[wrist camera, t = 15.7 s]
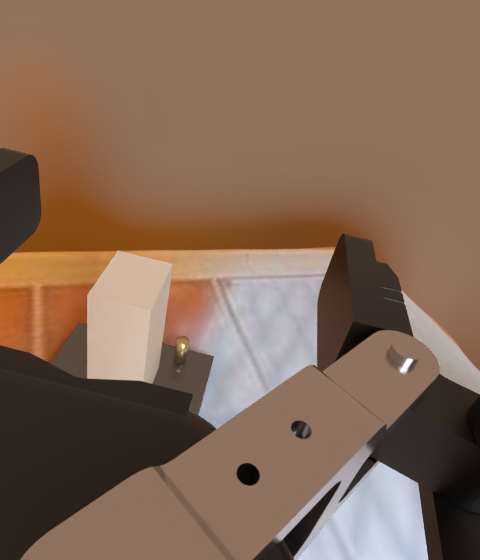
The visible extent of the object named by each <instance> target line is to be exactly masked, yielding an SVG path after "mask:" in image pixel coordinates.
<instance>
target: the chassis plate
mask: <svg viewBox="0 0 480 560" xmlns="http://www.w3.org/2000/svg"><path fill="white" fill-rule="evenodd" d="M188 346H189V339H188V338H187V337H185V336H180V337H178V338H177V342H176V347H174V346H170V345H166V344H162V348H161V355H160V363H159V368H158V370H157V373H156V376H155V378H154V381H153V383H152V384H155V385H159V386H163V387H167V388H171V389H175V390H179V391H183V392H187V393H191V394H193V398H192V403H191V408H190V411H191V412H193V413H195V414H197V415H198V414H199V411H200V407H201V403H202V400H203V396H204V392H205V388H206V385H207V381H208V377H209V374H210V370H211V366H212V362H213V358H214V356H210V355H206V354H202V353H198V352H194V351H190V350H188ZM51 364H52V365H54V366H56V367H58V368H60V369H62V370H63V371H65V372H67V373H69V374H71V375H73V376H76V377H79V378H87V325H86V324H82V323H78V325H77V326H76V328H75V329H74V331H73V332H72V334H71V335H70V337H69V338H68V339H67V341H66V342H65V344H64V345H63V347H62V348H61V350H60V351H59V353H58V354H57V356H56V357H55V359H54V360H53V361H52V363H51Z"/></svg>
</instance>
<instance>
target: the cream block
mask: <svg viewBox="0 0 480 560" xmlns="http://www.w3.org/2000/svg"><path fill="white" fill-rule="evenodd" d="M172 267H173V264H171V263H167V262H163V261H159V260H154V259H150V258H146V257H142V256H138V255H134V254H130V253H126V252H121V251H117V253H116V254H115V256H114V257H113V259H112V260H111V261H110V263H109V264H108V266H107V267H106V269H105V270H104V272H103V273H102V275H101V276H100V277H99V279H98V280H97V282H96V283H95V285H94V286H93V288H92V289H91V290H90V292H89V293H88V295H87V379H110V380H134V381H143V382H147V383H151V384H152V383H153V381H154V378H155V376H156V373H157V370H158V368H159V363H160V355H161V348H162V341H163V333H164V326H165V319H166V311H167V304H168V297H169V289H170V282H171V275H172Z"/></svg>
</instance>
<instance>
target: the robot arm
mask: <svg viewBox="0 0 480 560" xmlns="http://www.w3.org/2000/svg"><path fill="white" fill-rule="evenodd" d="M40 218H41V201H40V185H39V169H38V163H37V160H36V158H35V157H34V156H33V155H30V154H26V153H22V152H17V151H14V150H10V149H6V148H0V264H1V263H2V262H3V261H4V260H5V259H6V258H7V257H8V256H10V255H11V254H12V253H13V252H14V251H15V250H16V249H17V248H18V247H19V246H20V245H22V244H23V243H24V242H25V241H26V240H27V239H28V238H29V237H30V236H31V235H32V234H33V233H34V232H35V231H36V229H37V227H38V225H39V222H40ZM192 398H193V394H191V393H187V392H183V391H179V390H175V389H171V388H167V387H163V386H159V385H155V384H151V383H147V382H143V381H134V380H110V379H87V378H79V377H76V376H73V375H71V374H69V373H67V372H65V371H63V370H62V369H60V368H58V367H56V366H54V365H52V364H50V363H48V362H46V361H44V360H42V359H40V358H38V357H36V356H34V355H33V354H31V353H28V352H24V351H20V350H16V349H12V348H8V347H4V346H0V560H297V558H298V557H299V556H300V555H301V554H302V553H303V552H304V550H305V549H306V548H307V547H308V546H309V544H310V543H311V542H312V541H313V540H314V538H315V537H316V536H317V534H318V533H319V532H320V530H321V529H322V528H323V526H324V525H325V524H326V523H327V521H328V520H329V519H330V518H331V516H332V515H333V514H334V513H335V512H336V511H337V509H338V508H339V507H340V506H341V505H342V504H343V503H344V502H345V500H346V499H347V498H348V497H349V496H350V495H351V494H352V493H353V491H354V490H355V489H356V488H357V487H358V486H359V485H360V484H361V482H362V481H363V480H364V479H365V478H366V477H367V476H368V475H369V474H370V472H371V471H372V470H373V469H374V468H375V467H376V466H377V465H378V463H379V462H382V463H383V464H385V465H387V466H389V467H390V468H392V469H394V470H396V471H398V472H399V473H401V474H403V475H405V476H407V477H408V478H410V479H412V480H414V481H415V482H417V483H418V484H419V492H420V499H421V507H422V514H423V522H424V529H425V537H426V544H427V552H428V559H429V560H480V395H479V394H477V393H475V392H473V391H471V390H469V389H467V388H465V387H463V386H461V385H459V384H457V383H455V382H452V381H451V380H449V379H447V378H445V377H443V376H442V375H440V374H439V364H438V361H437V359H436V357H435V356H434V354H433V353H432V352H431V351H430V350H429V348H427V347H426V346H425V345H424V344H423V343H421V342H420V341H419V340H417V339H415V338H414V337H413V333H412V330H411V326H410V322H409V318H408V314H407V310H406V306H405V304H404V299H403V295H402V293H401V287H400V283H399V279H398V277H397V276H396V274H395V273H394V272H393V271H392V270H391V268H390V267H389V266H388V265H387V264H385V263H380V262H377V261H376V258H375V253H374V248H373V243H372V241H371V240H367V239H363V238H359V237H355V236H351V235H347V234H342V235H341V237H340V239H339V241H338V243H337V246H336V248H335V251H334V254H333V256H332V259H331V261H330V264H329V267H328V269H327V272H326V274H325V277H324V280H323V282H322V285H321V289H320V293H319V298H318V312H317V367H316V366H315V365H309V366H307V367H305V368H304V369H302V370H301V371H299V372H298V373H296V374H295V375H294V376H292V377H291V378H289V379H288V380H286V381H285V382H284V383H282V384H281V385H279V386H278V387H276V388H275V389H274V390H272V391H271V392H269V393H268V394H266V395H265V396H263V397H262V398H261V399H259V400H258V401H256V402H255V403H253V404H252V405H251V406H249V407H248V408H246V409H245V410H243V411H242V412H241V413H239V414H238V415H236V416H235V417H233V418H232V419H231V420H229V421H228V422H226V423H225V424H223V425H222V426H221V427H219V428H218V429H216V428H215V427H214V426H213V425H211V424H210V423H209V422H207V421H206V420H205V419H203V418H202V417H200V416H198V415H197V414H195V413H193V412H191V411H190V408H191V403H192Z"/></svg>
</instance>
